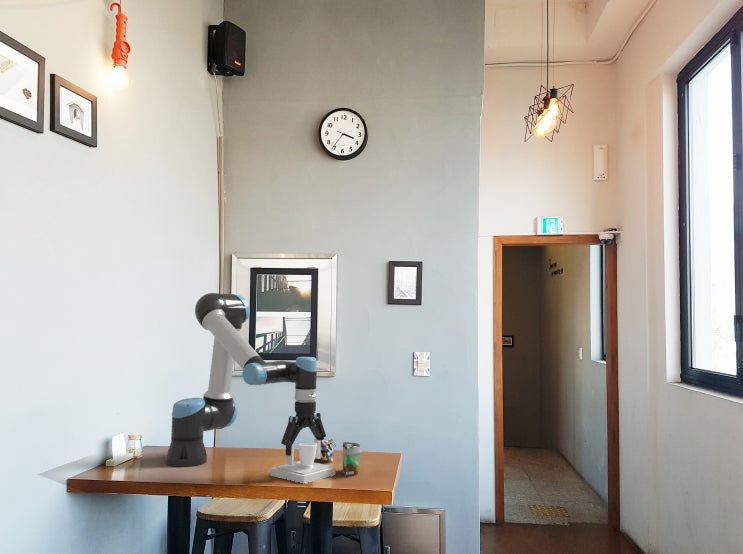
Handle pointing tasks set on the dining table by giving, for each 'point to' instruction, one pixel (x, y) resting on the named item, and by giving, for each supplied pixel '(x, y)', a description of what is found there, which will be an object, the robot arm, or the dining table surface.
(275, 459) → the dining table surface
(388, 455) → the dining table surface
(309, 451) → the cup
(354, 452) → the food container
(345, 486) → the dining table surface
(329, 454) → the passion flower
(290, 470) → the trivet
